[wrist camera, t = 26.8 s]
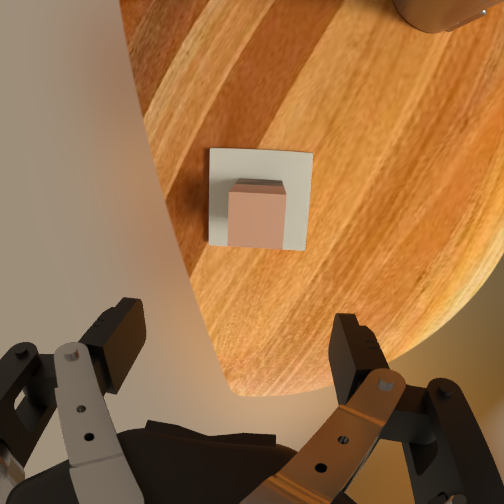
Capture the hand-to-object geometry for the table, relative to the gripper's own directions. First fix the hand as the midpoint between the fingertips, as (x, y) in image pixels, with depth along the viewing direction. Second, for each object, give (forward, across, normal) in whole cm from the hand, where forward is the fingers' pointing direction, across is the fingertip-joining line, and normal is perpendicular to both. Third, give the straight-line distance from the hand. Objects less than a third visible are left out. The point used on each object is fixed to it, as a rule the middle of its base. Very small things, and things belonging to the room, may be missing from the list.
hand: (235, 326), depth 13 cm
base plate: (+28, 0, 0) cm, 28 cm away
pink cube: (+22, 0, 0) cm, 22 cm away
